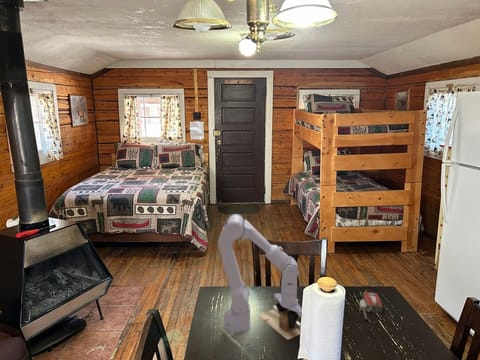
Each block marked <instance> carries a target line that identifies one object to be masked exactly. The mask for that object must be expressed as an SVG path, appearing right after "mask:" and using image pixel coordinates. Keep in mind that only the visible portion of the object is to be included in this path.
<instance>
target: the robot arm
mask: <svg viewBox="0 0 480 360" xmlns="http://www.w3.org/2000/svg"><path fill="white" fill-rule="evenodd" d="M239 238H241V240H250V241H251V242H253V243H254V244H255V245H256V246H258V247H259V249H261V250H262V251H263V252H265V257H266V259H268V261H270V262H271V263H272V264H273V265H274V266H275V267H276V268H278V269H279V270H280V271H281V275H282V276H281V280H280V281H281V289H280V293H279V292H277V293H274V295H273V298H274V299H273V300H275V301H278V302H277V303H275V305H276V307H277V309H278V311H279V314H280V312H282V311H284V310H287V309H290V310H291V311H288V312H287V315H288V319H289V328H290V329H292V328H294V327H295V324H296V321H298V319H299V318H301V317H303V316H302V309H303V308H302V307H301V305H300V304H299V303H298V302H299V300H298V297H297V295H298V292H297V291H298V276H299V274H300V273H299V272H300V271H299V267H298V263H297V261H296V259H295V258H294V257H292V256H291V255H288V254H287V253H286V252H284V251H283V248H282V246H281V245H280V246H278V245H277V244H271V243H270V242H269V241H268V240H267V239H266V238H265V237H264V236H263V235H262V234H261V233H260V232H259V231H258V230H257V229H256V228H255V227H254V226H253V225H252V224H251V223H250V222H249V221H248V220H247V219H245V218H244V217H243V216H242V215H241V214H237V213H233V214H231V215H229V216H228V217H227V219H226V220H225V221H224V224H223V227H222V230H221V232H220V235H219V237H218V241H217V245H218V246H217V247H218V249H219V252H220V257H221V261H222V264H223V267H224V271H225V273H226V277H227V281H228V283H229V289H230V297H231V305H230V308H229V309H228V310H226V311H225V312H224V314H223V327H222V329H223V330H224V331H225V333H227V334H228V336H230V337H231V338H232V339H233V340H236V337H235V336H234V335H236V334H239V333H244V332H246V331H248V330H249V329H251V328H250V327H251V305H250V304H249V297H250V291H249V289H248V287H247V286H246V285H245V282H244V281H243V278H242V275H241V272H240V268H239V265H238V261H237V256H236V254H235V251H234V247H233V243H234V242H235V241H237V240H238V239H239Z"/></svg>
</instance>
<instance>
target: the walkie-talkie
mask: <svg viewBox="0 0 480 360" xmlns="http://www.w3.org/2000/svg"><path fill="white" fill-rule="evenodd" d="M360 296H361V298H362V299H361V300H360V301H359V309H360V311H362V313H363V316H364V320H366V321H367V320H368V316H367V312H368V313H370V312H371V313H376V314H380V313H381V314H382V313H383V310H384V308H383V304H382V302H381V299H380V297H379V294H378V293H377V292H373V291H372V292H371V291H364V292H363V293H361V295H360Z"/></svg>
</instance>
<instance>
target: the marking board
mask: <svg viewBox="0 0 480 360" xmlns="http://www.w3.org/2000/svg"><path fill="white" fill-rule="evenodd" d="M257 316H258V317H259V318H260V320H261V319H262V320H263V321H264V322H265V323H267V324H268V325H269V326H270V327H271V328H273V329H274V330H275V331H276V332H278V334H280V335H281V336H282V337H283V338H285V339H286V340H287V341H288V340H291V339H293V338H295V337H297V336H299V335H301V334H300V324H302V323H300V322H299V320H297V327H296V328H295V329H293V330H290V331H288V332H285V331H284V330H283V329H281V328H280V327H279V317H280V314H279V311H278V309H277V307H276V304H275V305H273V306H272V309H271V310H268V311H265V312H263V313H260V314H258V315H257Z"/></svg>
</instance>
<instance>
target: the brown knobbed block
mask: <svg viewBox="0 0 480 360" xmlns="http://www.w3.org/2000/svg"><path fill="white" fill-rule="evenodd" d="M288 311H291V310H290V309H287V310H284V311H282V312H280V317H279V327H280V328H281V329H283V330H284V331H285V332H288V331H290V330H293V329H295V328H296V327H297V321H298V320H297V321H296V324H295V327H294V328H292V329H290V328H289V319H288V315H287V312H288Z"/></svg>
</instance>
